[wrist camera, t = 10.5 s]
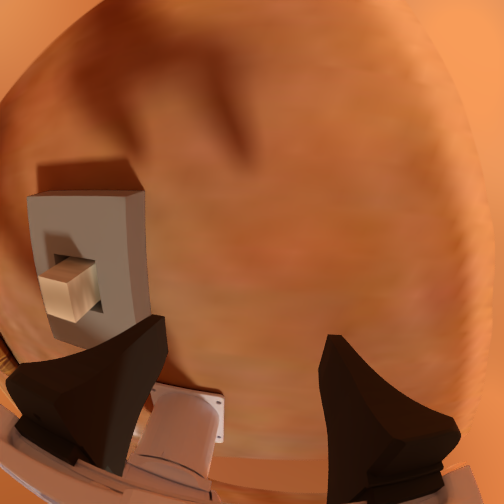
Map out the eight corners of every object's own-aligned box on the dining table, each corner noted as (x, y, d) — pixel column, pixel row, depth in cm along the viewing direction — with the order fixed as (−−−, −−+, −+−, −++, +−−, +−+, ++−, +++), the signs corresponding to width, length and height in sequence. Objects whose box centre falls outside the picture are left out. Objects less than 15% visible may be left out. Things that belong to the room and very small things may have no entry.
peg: (112, 288, 22) (75, 323, 17) (85, 282, 22) (47, 313, 17) (109, 254, 21) (67, 283, 16) (81, 249, 21) (38, 276, 16)
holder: (155, 345, 24) (143, 365, 21) (69, 323, 24) (54, 338, 22) (144, 190, 19) (125, 196, 16) (48, 190, 20) (26, 196, 17)
